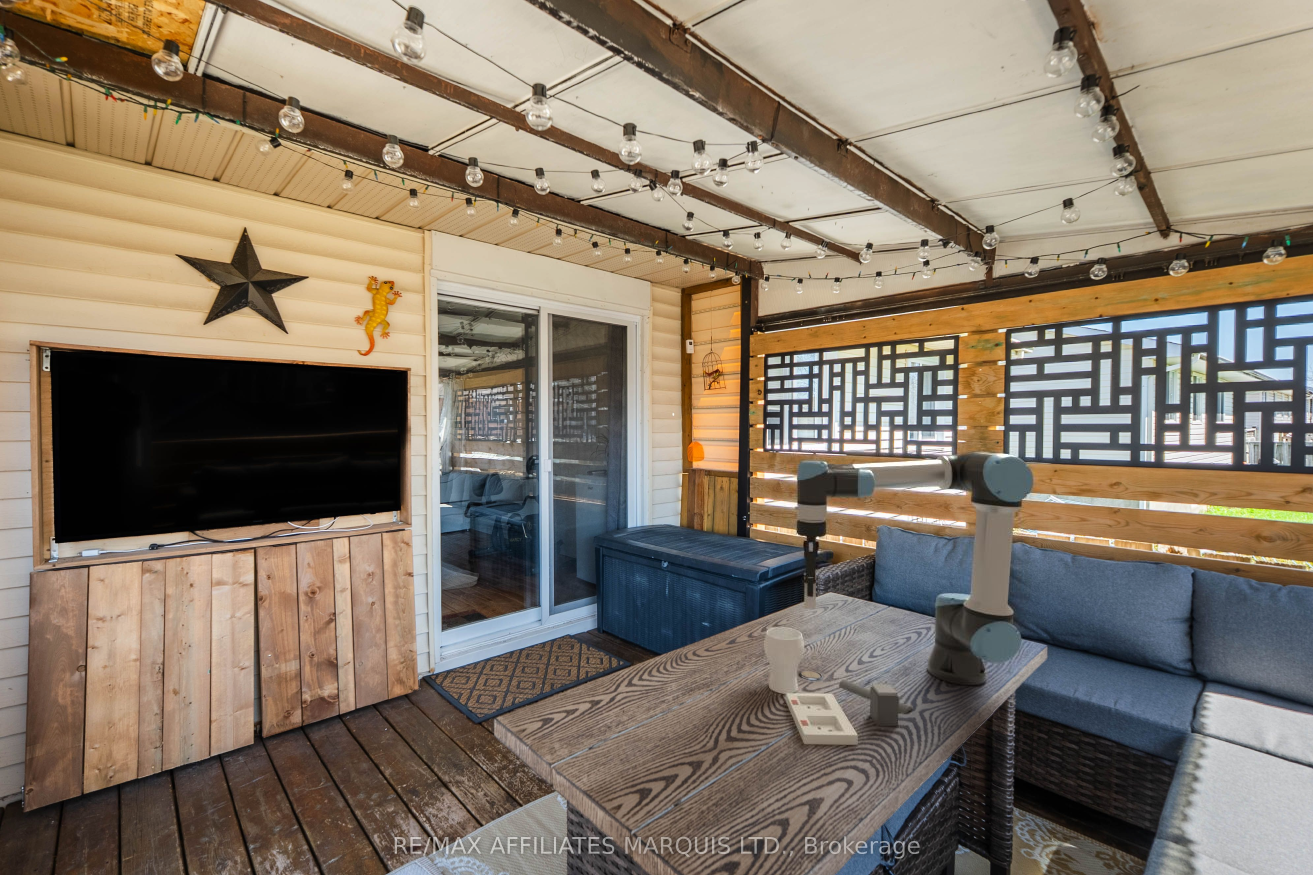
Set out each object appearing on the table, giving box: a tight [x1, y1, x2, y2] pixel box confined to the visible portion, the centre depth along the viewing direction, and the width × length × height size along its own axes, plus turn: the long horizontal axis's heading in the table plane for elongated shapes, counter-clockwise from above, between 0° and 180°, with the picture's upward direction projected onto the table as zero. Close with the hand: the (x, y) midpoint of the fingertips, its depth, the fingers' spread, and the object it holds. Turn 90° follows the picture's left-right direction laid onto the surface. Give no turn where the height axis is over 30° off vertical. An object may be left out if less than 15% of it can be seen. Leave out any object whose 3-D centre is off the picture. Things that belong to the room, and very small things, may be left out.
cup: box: [763, 626, 805, 695], centre depth 160 cm, size 11×11×15 cm
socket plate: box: [785, 692, 859, 746], centre depth 143 cm, size 12×20×2 cm, turn 179°
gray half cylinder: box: [838, 679, 913, 714], centre depth 155 cm, size 4×20×2 cm, turn 38°
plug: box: [869, 683, 900, 727], centre depth 143 cm, size 5×5×8 cm
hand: (810, 600), depth 155 cm, fingers open, 13 cm apart
